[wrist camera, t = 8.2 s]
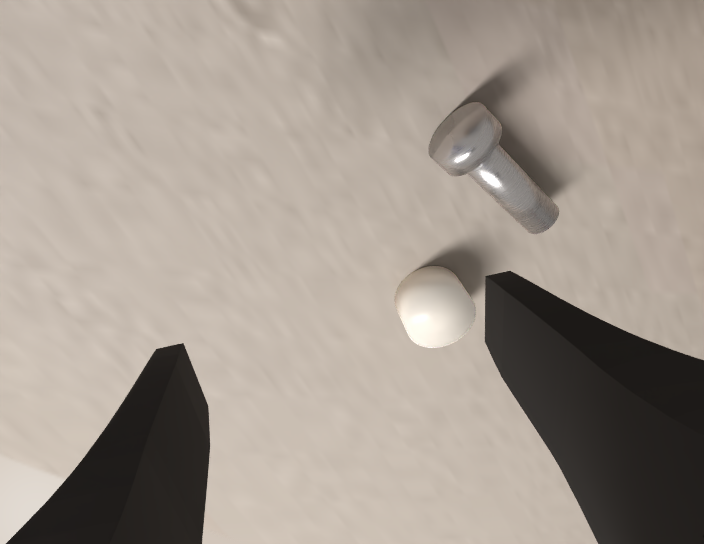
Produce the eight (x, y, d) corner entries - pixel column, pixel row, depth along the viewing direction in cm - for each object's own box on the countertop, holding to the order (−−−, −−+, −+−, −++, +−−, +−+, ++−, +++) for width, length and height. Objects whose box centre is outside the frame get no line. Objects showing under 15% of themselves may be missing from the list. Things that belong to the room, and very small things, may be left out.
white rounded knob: (380, 300, 25) (391, 326, 23) (429, 252, 24) (444, 276, 22) (425, 332, 27) (438, 358, 25) (472, 287, 26) (489, 312, 24)
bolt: (420, 146, 21) (442, 169, 19) (468, 94, 20) (497, 112, 18) (510, 231, 24) (539, 260, 22) (555, 188, 23) (589, 214, 21)
